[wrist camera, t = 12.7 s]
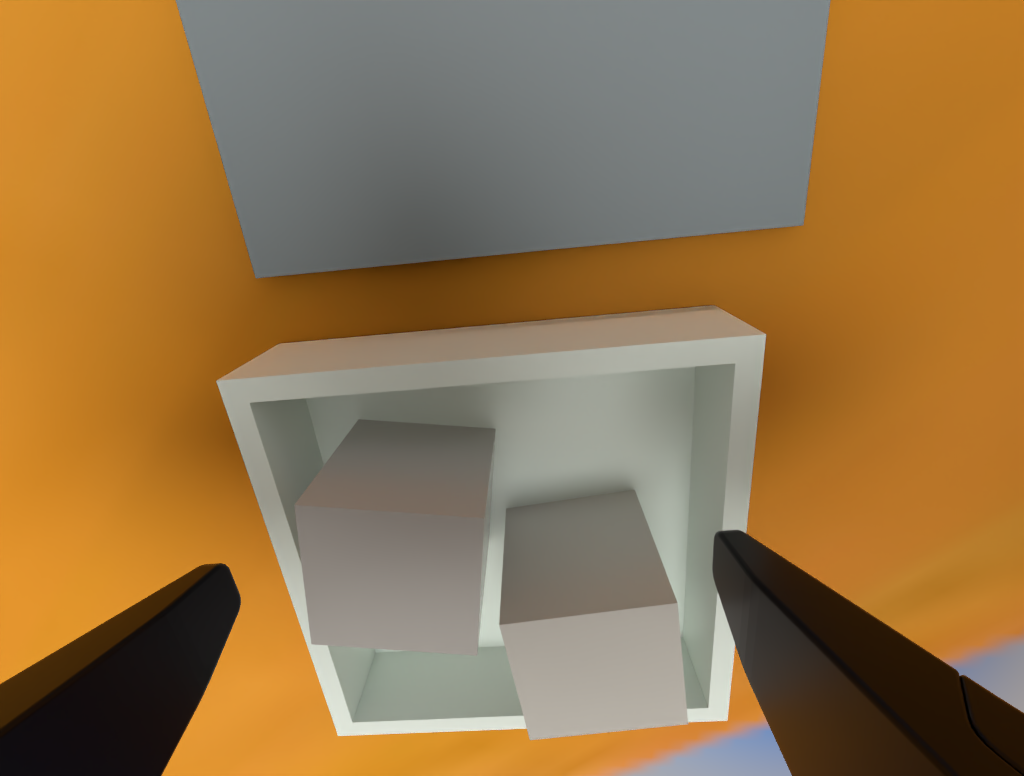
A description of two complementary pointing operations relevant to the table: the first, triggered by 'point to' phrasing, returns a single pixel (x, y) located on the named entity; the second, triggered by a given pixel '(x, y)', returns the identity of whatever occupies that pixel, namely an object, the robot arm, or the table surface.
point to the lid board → (504, 122)
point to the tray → (521, 473)
